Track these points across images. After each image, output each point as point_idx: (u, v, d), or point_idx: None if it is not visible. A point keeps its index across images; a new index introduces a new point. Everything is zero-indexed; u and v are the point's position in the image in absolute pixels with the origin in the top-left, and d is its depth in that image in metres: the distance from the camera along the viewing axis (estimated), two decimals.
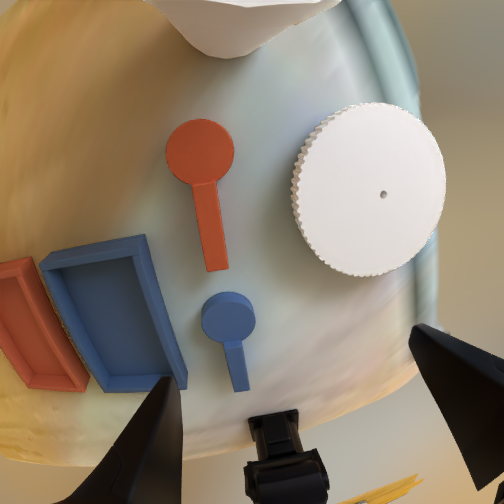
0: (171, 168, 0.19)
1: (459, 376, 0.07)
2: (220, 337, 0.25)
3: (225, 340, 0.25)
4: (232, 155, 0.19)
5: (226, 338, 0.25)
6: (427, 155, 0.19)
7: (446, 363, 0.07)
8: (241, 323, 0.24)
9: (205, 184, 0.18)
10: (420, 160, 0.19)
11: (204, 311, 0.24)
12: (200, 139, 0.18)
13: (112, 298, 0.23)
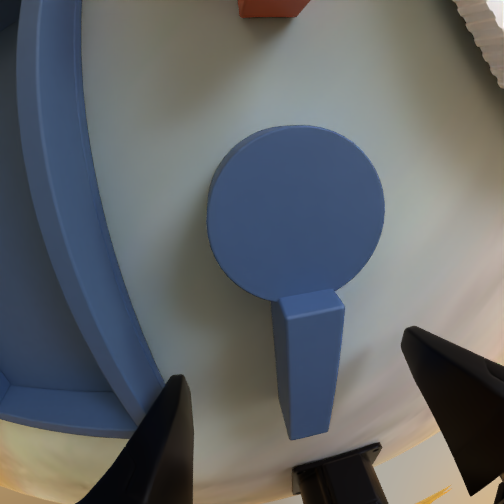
0: None
1: (452, 381, 0.07)
2: (270, 279, 0.07)
3: (285, 291, 0.08)
4: None
5: (290, 283, 0.07)
6: None
7: (438, 367, 0.07)
8: (344, 221, 0.07)
9: None
10: None
11: (220, 171, 0.06)
12: None
13: None
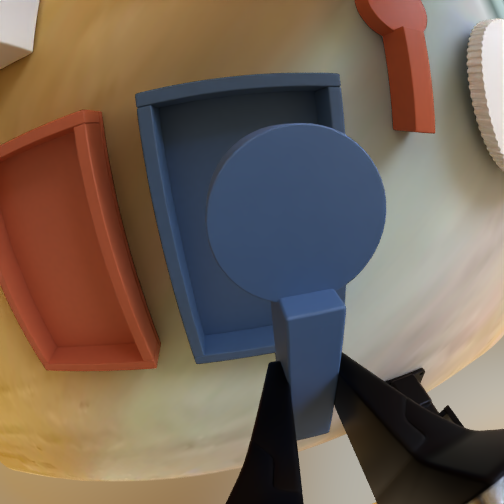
0: (372, 7, 0.10)
1: (366, 417, 0.07)
2: (270, 279, 0.07)
3: (286, 291, 0.07)
4: (426, 19, 0.11)
5: (290, 283, 0.07)
6: None
7: (351, 399, 0.07)
8: (345, 220, 0.07)
9: (415, 29, 0.10)
10: None
11: (219, 169, 0.06)
12: None
13: None
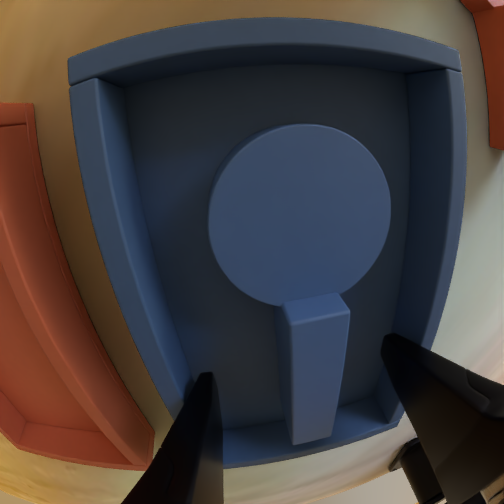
0: None
1: (430, 392, 0.07)
2: (273, 283, 0.07)
3: (289, 295, 0.07)
4: None
5: (293, 287, 0.07)
6: None
7: (416, 376, 0.07)
8: (350, 223, 0.07)
9: None
10: None
11: (221, 171, 0.06)
12: None
13: None
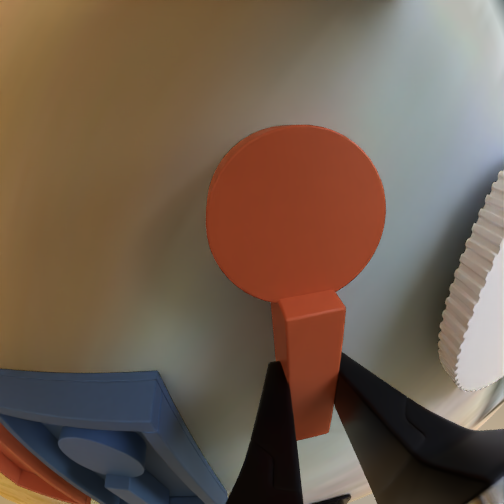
0: (223, 264, 0.07)
1: (366, 417, 0.07)
2: (98, 469, 0.10)
3: (107, 473, 0.11)
4: (380, 231, 0.07)
5: (107, 472, 0.10)
6: None
7: (352, 399, 0.07)
8: (119, 463, 0.10)
9: (322, 315, 0.07)
10: None
11: (59, 438, 0.09)
12: (310, 186, 0.06)
13: None
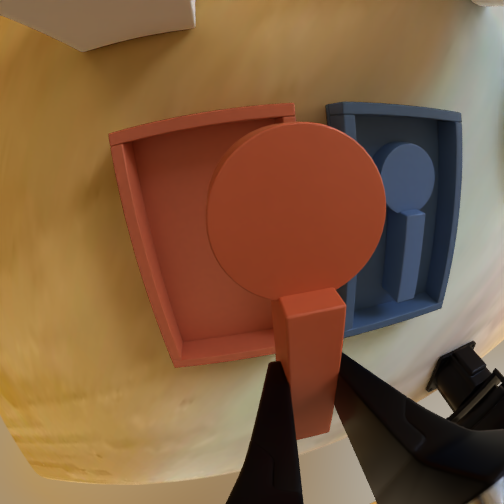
0: (223, 262, 0.07)
1: (366, 417, 0.07)
2: (397, 202, 0.16)
3: (402, 208, 0.16)
4: (381, 229, 0.07)
5: (403, 204, 0.16)
6: None
7: (351, 399, 0.07)
8: (421, 180, 0.16)
9: (322, 313, 0.07)
10: None
11: (383, 157, 0.15)
12: (310, 183, 0.06)
13: None
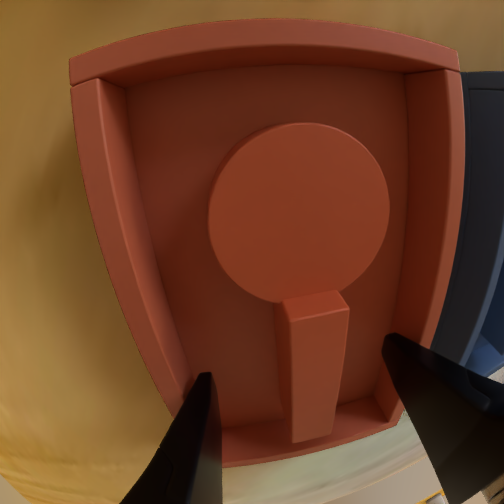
0: (224, 264, 0.07)
1: (431, 391, 0.07)
2: None
3: None
4: (384, 231, 0.07)
5: None
6: None
7: (417, 376, 0.07)
8: None
9: (325, 316, 0.07)
10: None
11: None
12: (314, 185, 0.06)
13: None
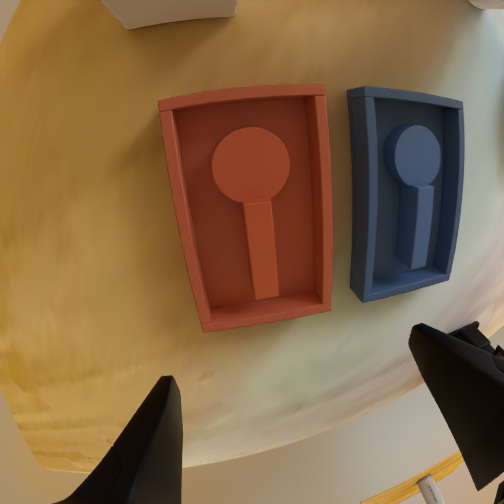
0: (217, 183, 0.16)
1: (459, 376, 0.07)
2: (409, 176, 0.18)
3: (413, 182, 0.18)
4: (288, 170, 0.17)
5: (415, 179, 0.18)
6: None
7: (446, 363, 0.07)
8: (430, 158, 0.17)
9: (259, 203, 0.16)
10: None
11: (397, 136, 0.17)
12: (253, 151, 0.16)
13: None
